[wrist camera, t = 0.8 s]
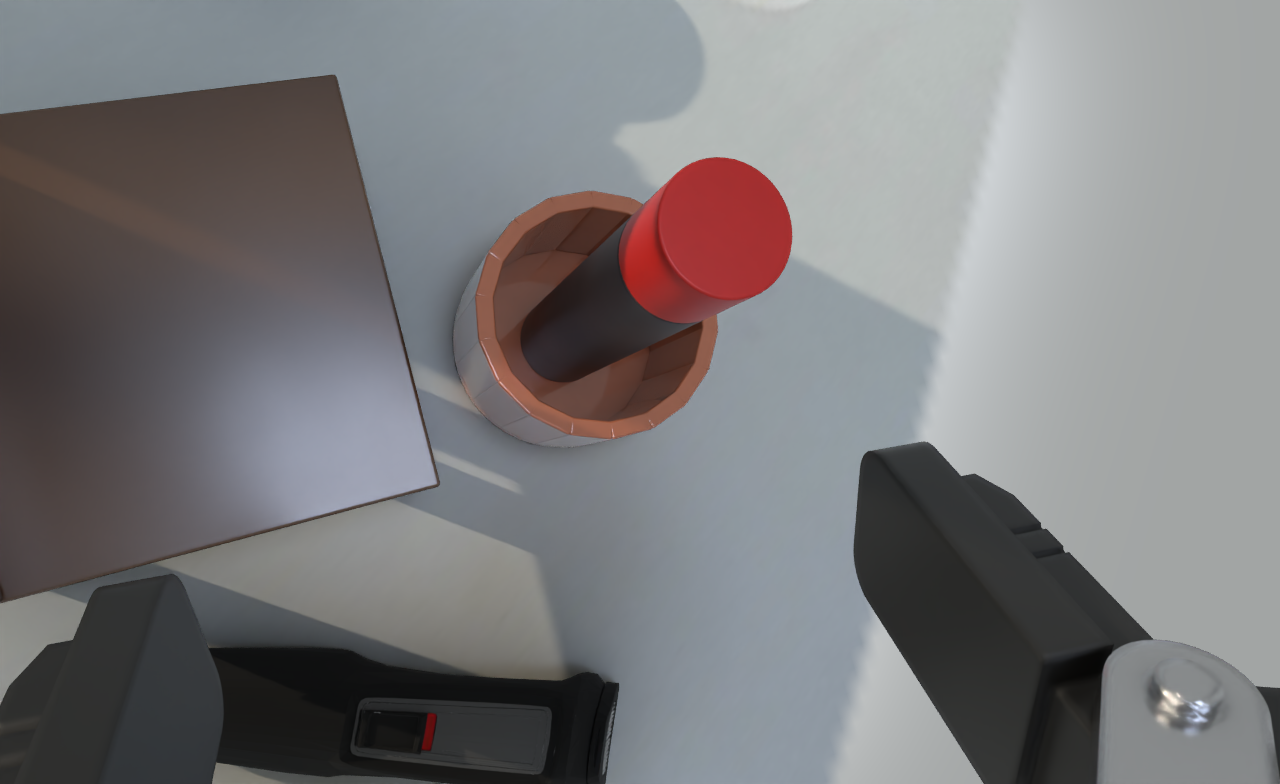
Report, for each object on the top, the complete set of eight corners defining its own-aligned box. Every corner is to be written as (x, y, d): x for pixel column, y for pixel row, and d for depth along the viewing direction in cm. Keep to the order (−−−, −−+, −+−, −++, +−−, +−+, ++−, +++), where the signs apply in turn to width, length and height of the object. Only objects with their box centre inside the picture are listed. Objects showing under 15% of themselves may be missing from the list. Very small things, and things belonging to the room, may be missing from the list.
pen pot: (427, 262, 30) (446, 214, 25) (628, 224, 33) (684, 173, 27) (481, 471, 30) (511, 466, 25) (679, 418, 32) (745, 404, 27)
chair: (-65, 211, 26) (-349, 11, 15) (336, 152, 30) (335, -43, 19) (28, 591, 26) (-194, 661, 15) (421, 487, 30) (469, 483, 19)
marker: (510, 308, 30) (641, 168, 17) (591, 291, 31) (772, 146, 18) (531, 391, 30) (679, 313, 17) (612, 371, 31) (808, 284, 18)
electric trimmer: (103, 611, 27) (71, 626, 24) (618, 671, 31) (647, 690, 28) (70, 747, 26) (33, 780, 23) (600, 789, 30) (628, 822, 27)
